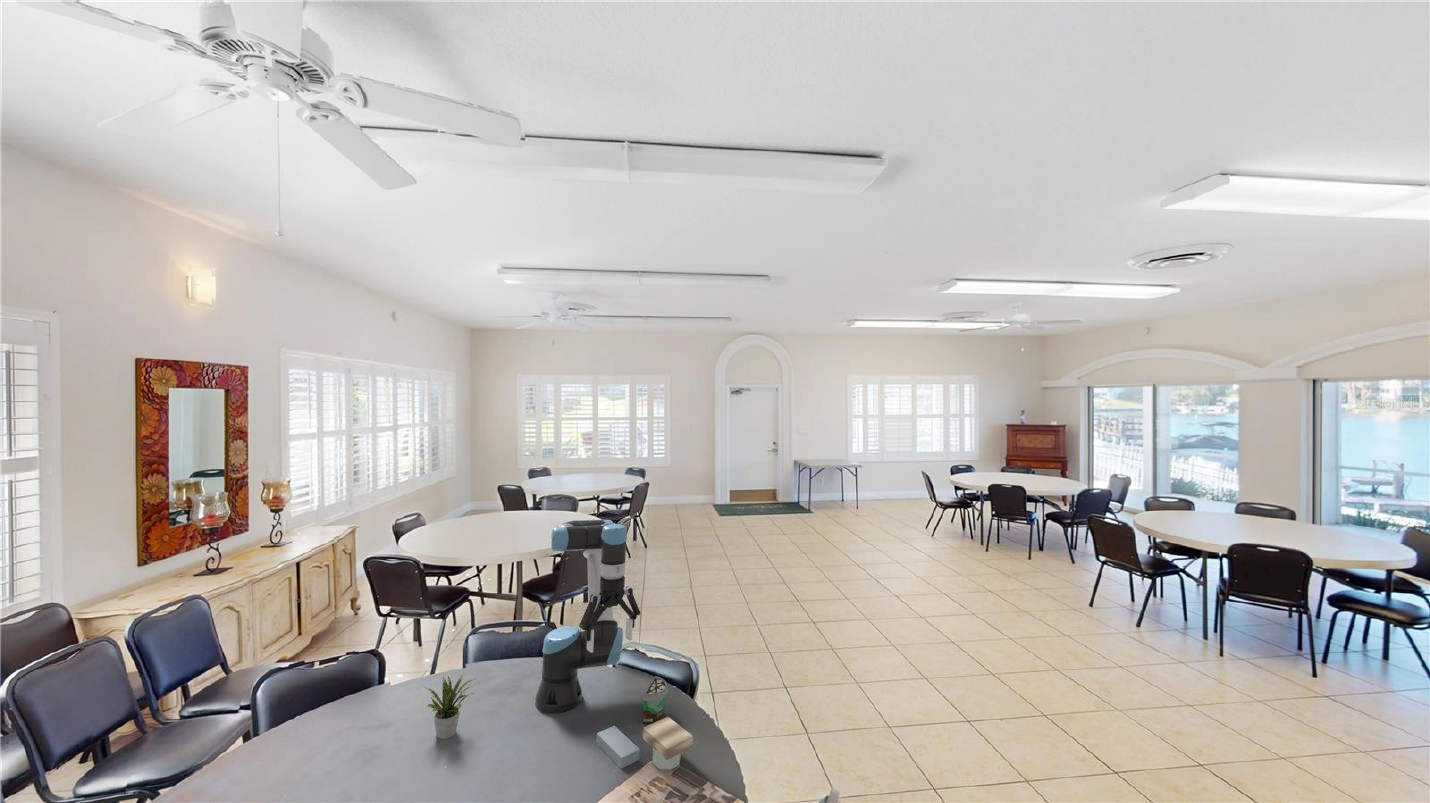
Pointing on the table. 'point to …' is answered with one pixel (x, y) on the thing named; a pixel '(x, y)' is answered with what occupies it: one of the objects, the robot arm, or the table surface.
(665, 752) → the gold metallic plate
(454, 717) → the house plant
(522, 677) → the table surface
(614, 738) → the light gray rectangular block
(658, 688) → the food container
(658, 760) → the cup
